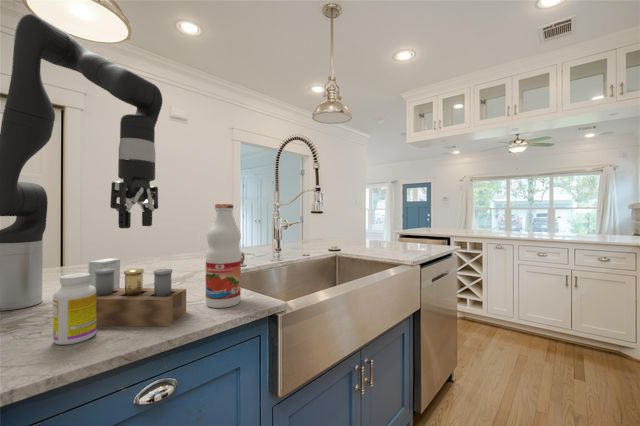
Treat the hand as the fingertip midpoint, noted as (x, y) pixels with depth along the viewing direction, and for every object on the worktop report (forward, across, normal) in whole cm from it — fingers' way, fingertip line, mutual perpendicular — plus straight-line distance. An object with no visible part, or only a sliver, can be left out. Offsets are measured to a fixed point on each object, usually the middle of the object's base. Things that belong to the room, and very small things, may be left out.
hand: (136, 227), depth 69 cm
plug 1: (+17, 0, -7) cm, 19 cm away
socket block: (+22, +1, 0) cm, 22 cm away
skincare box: (+22, -11, -15) cm, 29 cm away
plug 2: (+17, +1, +7) cm, 19 cm away
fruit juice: (+22, -11, +18) cm, 30 cm away
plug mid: (+17, +1, 0) cm, 17 cm away
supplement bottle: (+22, +11, -5) cm, 25 cm away
